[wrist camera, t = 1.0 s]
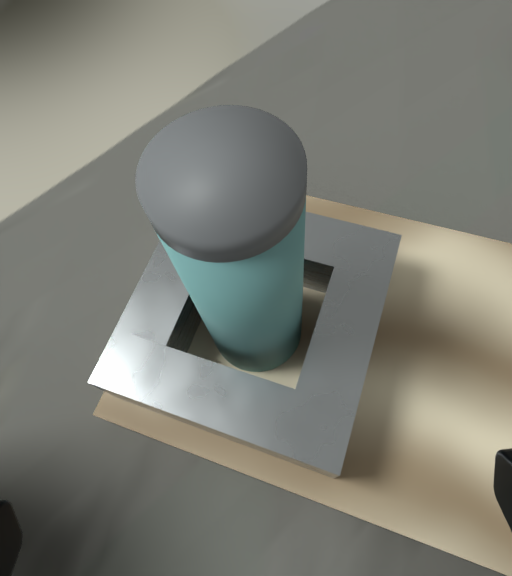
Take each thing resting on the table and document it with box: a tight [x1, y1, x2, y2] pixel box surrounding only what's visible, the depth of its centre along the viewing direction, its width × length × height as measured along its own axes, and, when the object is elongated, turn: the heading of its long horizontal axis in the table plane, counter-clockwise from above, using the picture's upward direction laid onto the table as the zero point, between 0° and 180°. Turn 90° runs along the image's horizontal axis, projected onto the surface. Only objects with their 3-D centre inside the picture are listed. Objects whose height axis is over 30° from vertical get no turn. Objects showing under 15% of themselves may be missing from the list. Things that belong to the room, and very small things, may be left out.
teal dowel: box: [136, 105, 307, 372], centre depth 17 cm, size 4×4×12 cm
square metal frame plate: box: [88, 212, 402, 479], centre depth 21 cm, size 11×11×3 cm
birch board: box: [93, 195, 512, 576], centre depth 21 cm, size 15×35×2 cm, turn 70°
